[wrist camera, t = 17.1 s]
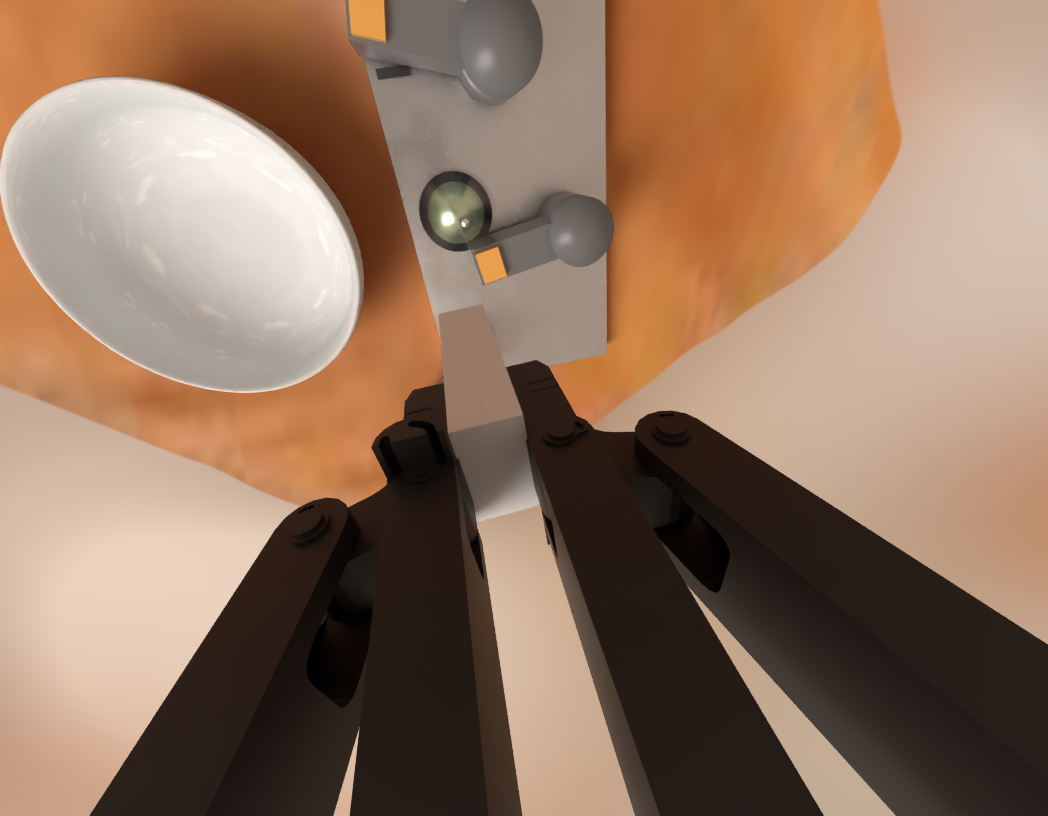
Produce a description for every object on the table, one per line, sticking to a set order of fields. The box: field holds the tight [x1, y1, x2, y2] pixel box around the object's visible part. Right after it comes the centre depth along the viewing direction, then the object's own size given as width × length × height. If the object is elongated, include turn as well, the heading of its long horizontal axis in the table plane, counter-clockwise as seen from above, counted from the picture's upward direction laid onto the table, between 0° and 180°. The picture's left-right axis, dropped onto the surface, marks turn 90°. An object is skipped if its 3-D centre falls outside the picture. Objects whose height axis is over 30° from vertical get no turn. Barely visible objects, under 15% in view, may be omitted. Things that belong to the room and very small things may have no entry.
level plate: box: [363, 0, 607, 367], centre depth 29 cm, size 28×15×2 cm, turn 7°
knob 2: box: [467, 192, 614, 286], centre depth 28 cm, size 10×4×4 cm, turn 106°
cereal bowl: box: [0, 76, 364, 393], centre depth 25 cm, size 17×17×7 cm
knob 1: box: [346, 0, 543, 105], centre depth 21 cm, size 10×4×4 cm, turn 82°
